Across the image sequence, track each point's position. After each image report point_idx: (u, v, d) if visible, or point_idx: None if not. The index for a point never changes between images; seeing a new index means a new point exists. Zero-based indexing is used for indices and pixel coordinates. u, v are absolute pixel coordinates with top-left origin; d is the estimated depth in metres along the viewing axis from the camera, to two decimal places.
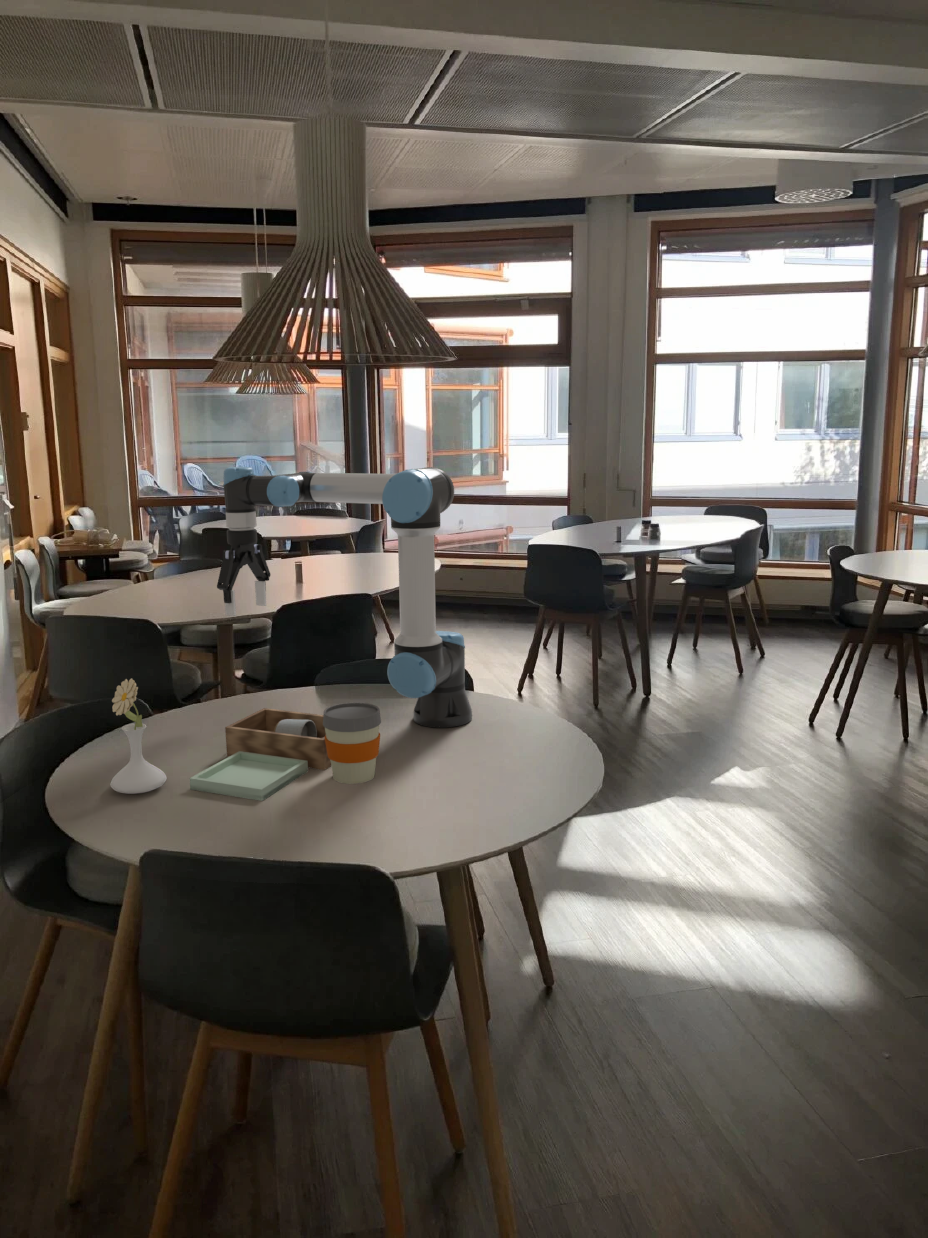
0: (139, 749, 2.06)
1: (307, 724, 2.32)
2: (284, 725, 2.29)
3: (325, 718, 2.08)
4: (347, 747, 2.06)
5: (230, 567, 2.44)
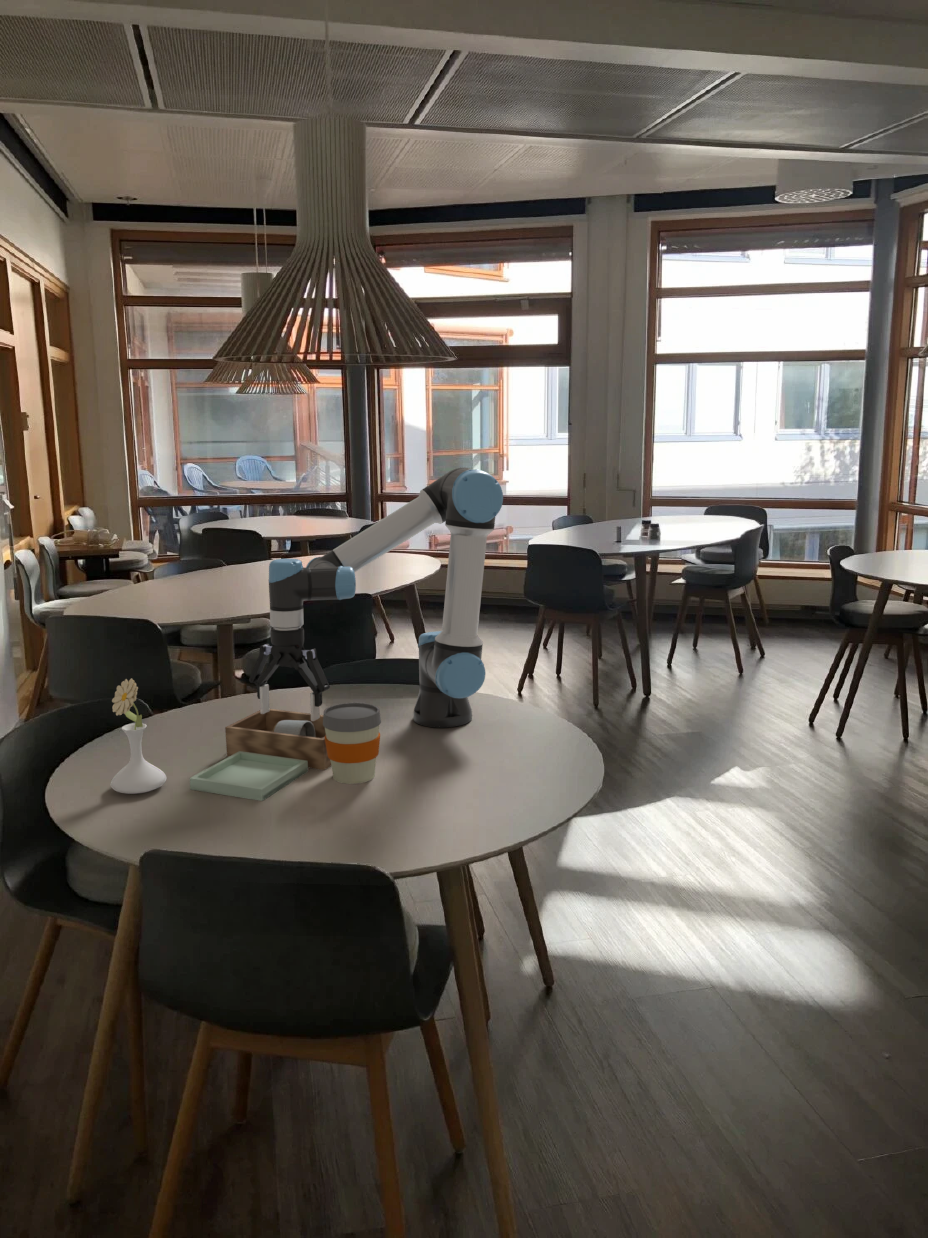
0: (139, 749, 2.06)
1: (306, 725, 2.31)
2: (283, 726, 2.28)
3: (325, 718, 2.08)
4: (347, 747, 2.06)
5: (258, 662, 2.27)
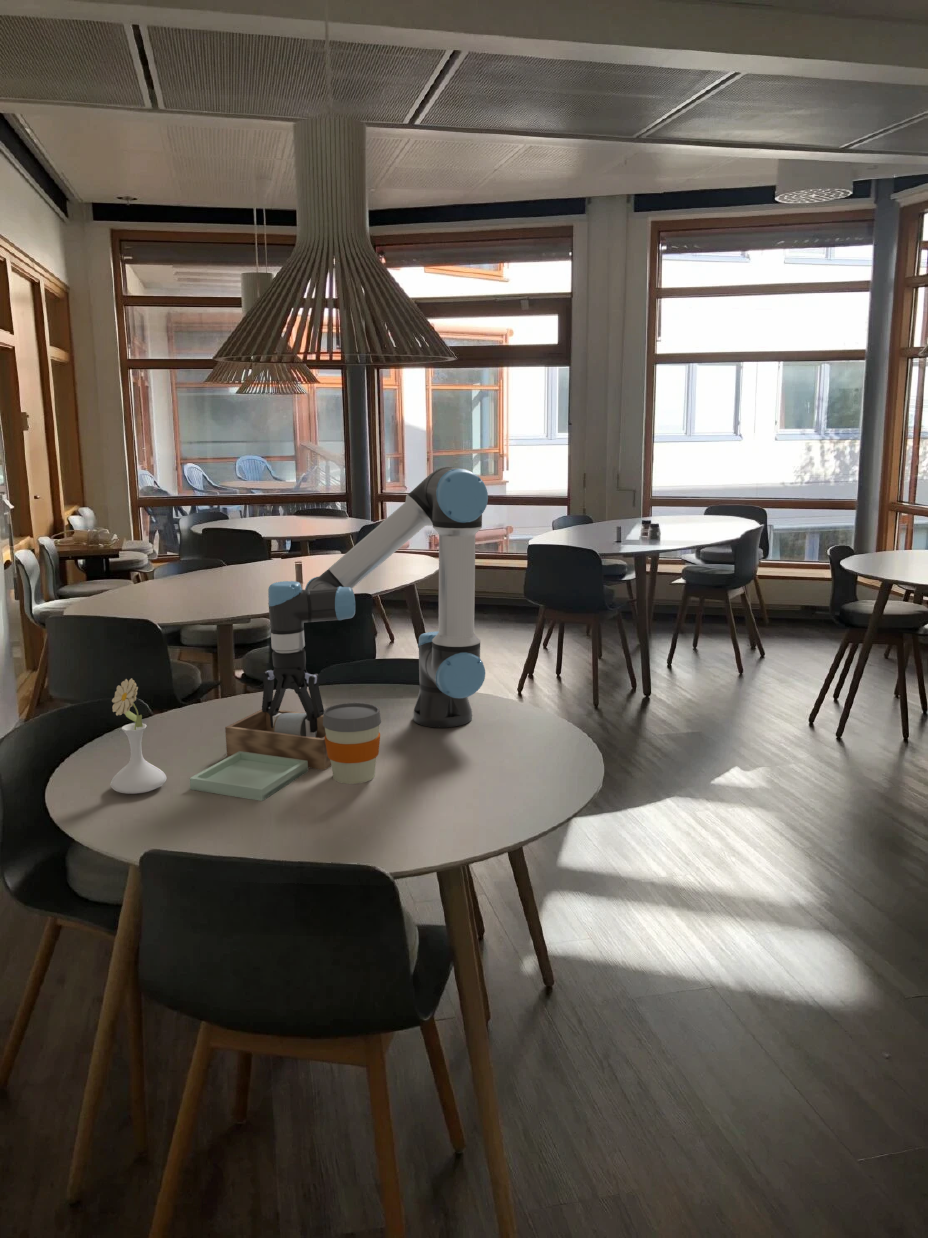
0: (139, 749, 2.06)
1: (307, 717, 2.31)
2: (284, 719, 2.27)
3: (325, 718, 2.08)
4: (347, 747, 2.06)
5: (265, 689, 2.28)
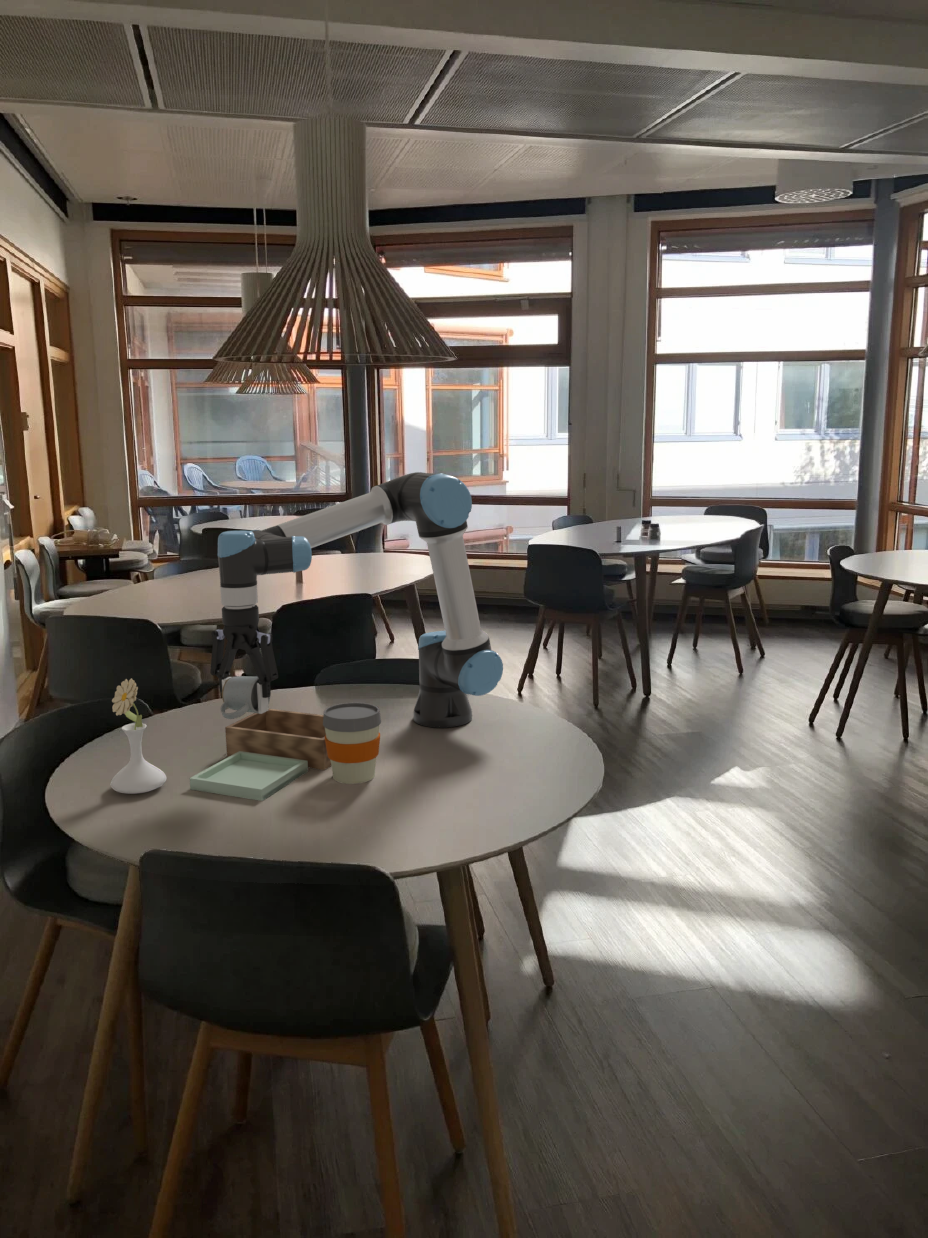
0: (139, 749, 2.06)
1: None
2: (234, 682, 2.06)
3: (325, 718, 2.08)
4: (347, 747, 2.06)
5: (214, 650, 2.08)
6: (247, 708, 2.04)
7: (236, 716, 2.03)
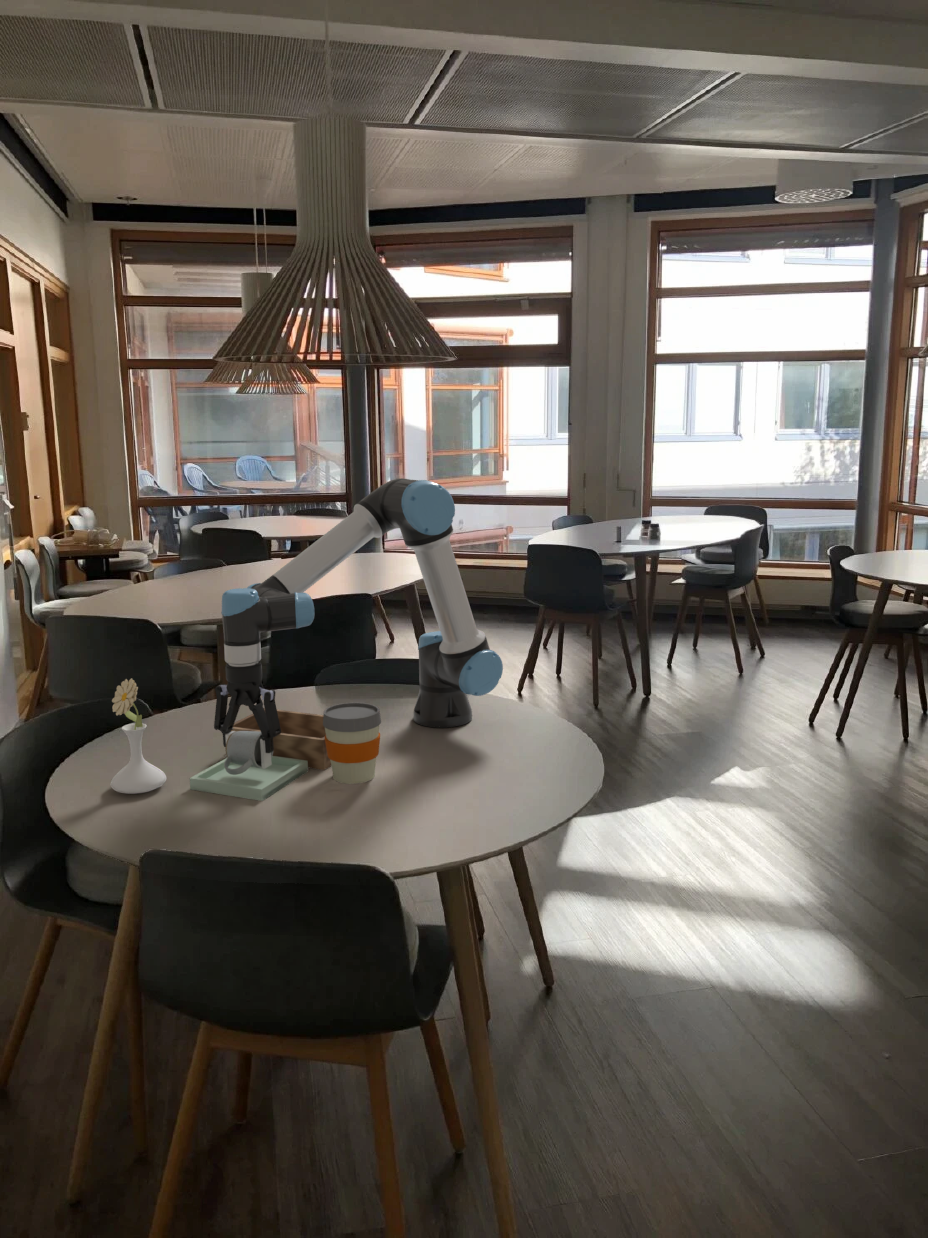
0: (139, 749, 2.06)
1: None
2: (237, 738, 2.09)
3: (325, 718, 2.08)
4: (347, 747, 2.06)
5: (218, 705, 2.10)
6: (250, 764, 2.07)
7: (239, 772, 2.06)
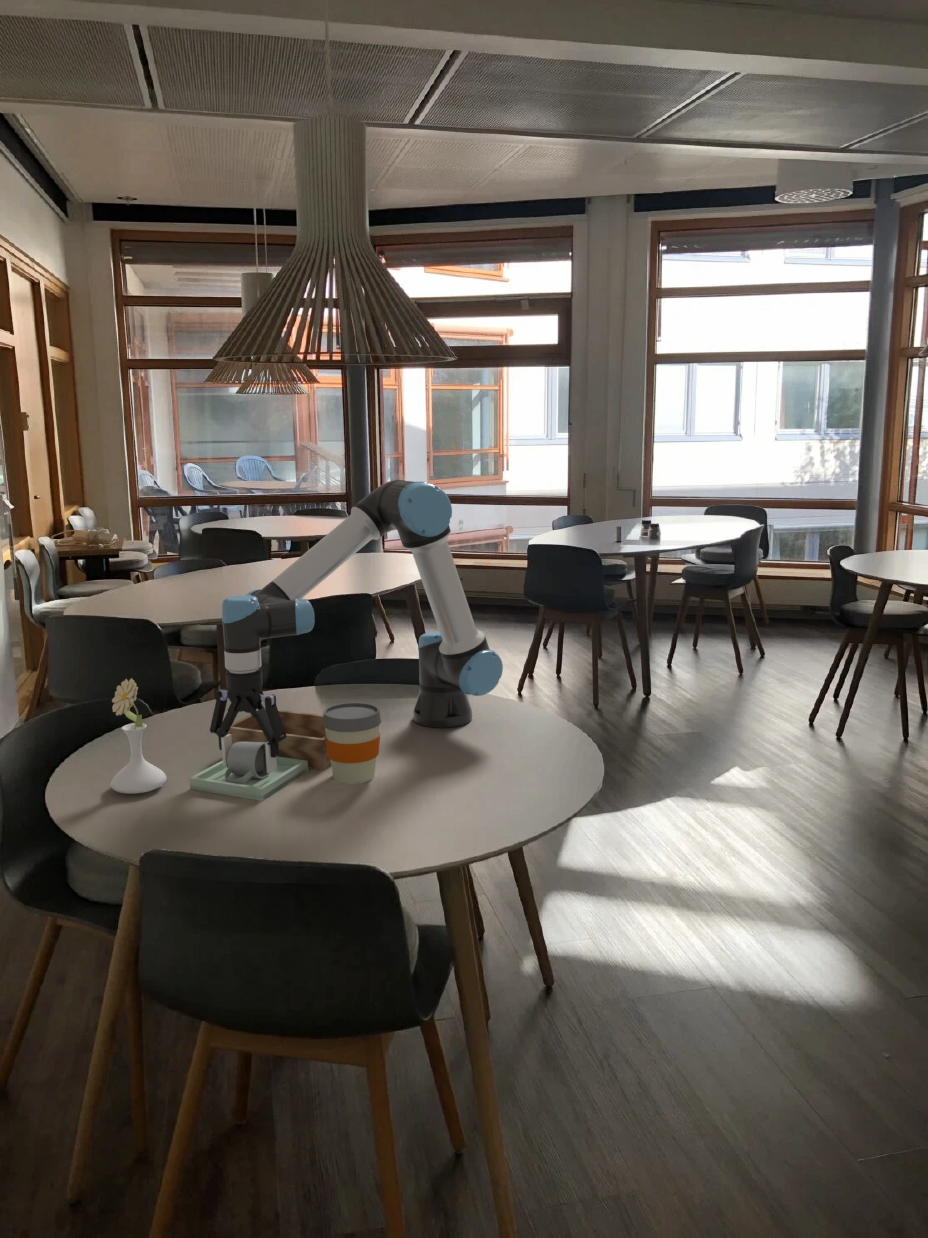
0: (139, 749, 2.06)
1: (263, 747, 2.13)
2: (237, 749, 2.10)
3: (325, 718, 2.08)
4: (347, 747, 2.06)
5: (216, 710, 2.11)
6: (250, 774, 2.07)
7: (240, 783, 2.06)
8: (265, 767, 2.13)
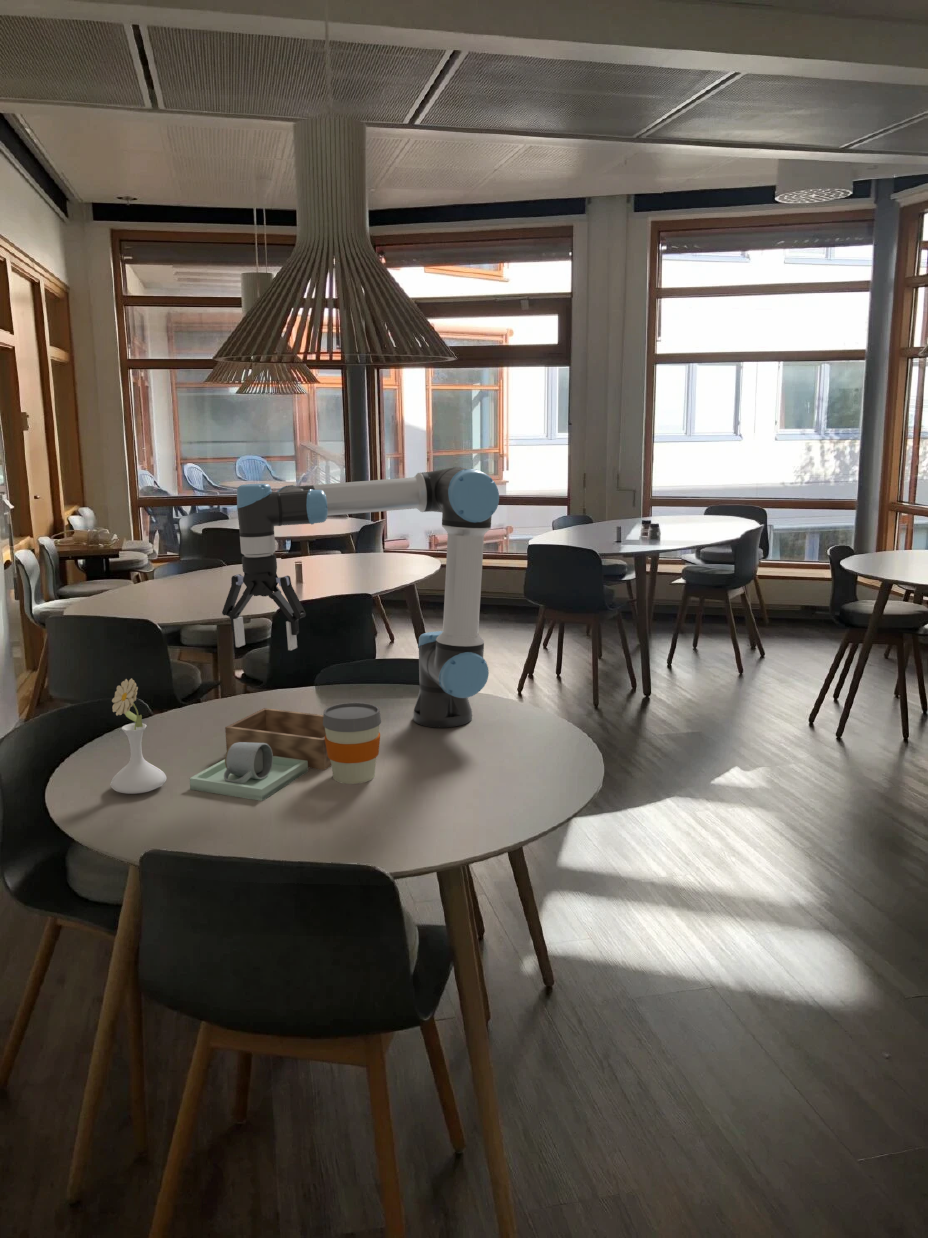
0: (139, 749, 2.06)
1: (262, 747, 2.13)
2: (237, 749, 2.09)
3: (325, 718, 2.08)
4: (347, 747, 2.06)
5: (230, 593, 2.20)
6: (250, 775, 2.07)
7: (239, 783, 2.06)
8: (264, 768, 2.13)
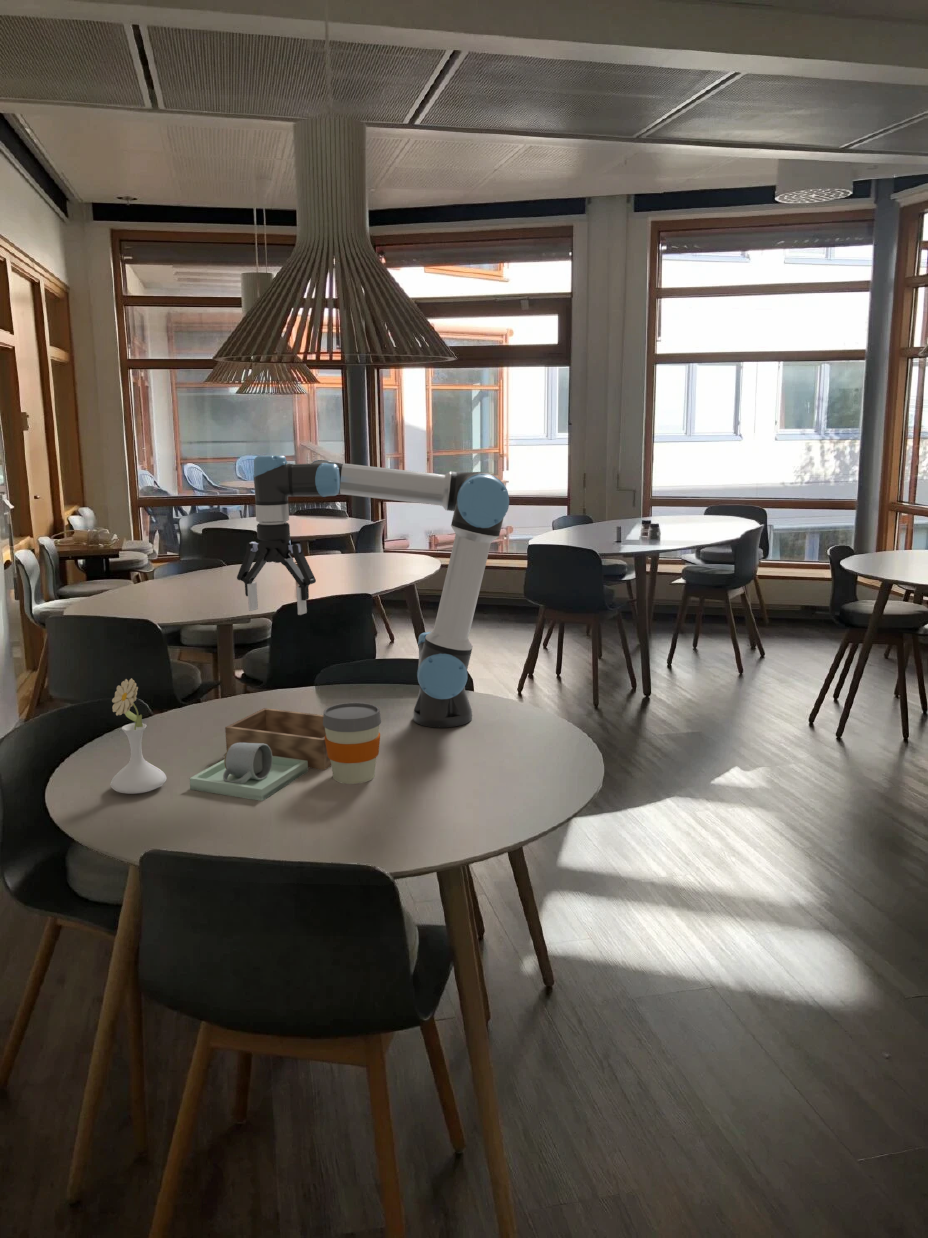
0: (139, 749, 2.06)
1: (262, 748, 2.13)
2: (236, 750, 2.09)
3: (325, 718, 2.08)
4: (347, 747, 2.06)
5: (245, 559, 2.31)
6: (249, 776, 2.07)
7: None
8: (264, 768, 2.13)
